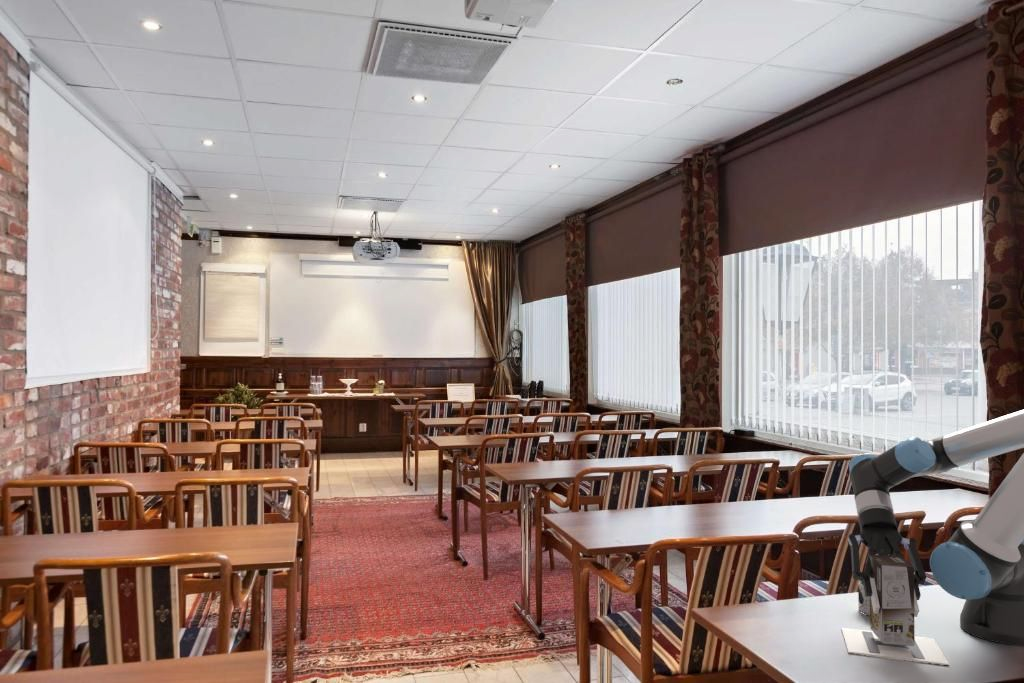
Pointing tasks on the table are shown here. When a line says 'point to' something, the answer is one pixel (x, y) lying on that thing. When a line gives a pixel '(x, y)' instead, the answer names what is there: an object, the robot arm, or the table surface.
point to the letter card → (893, 647)
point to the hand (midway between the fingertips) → (896, 611)
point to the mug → (863, 600)
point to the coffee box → (893, 600)
